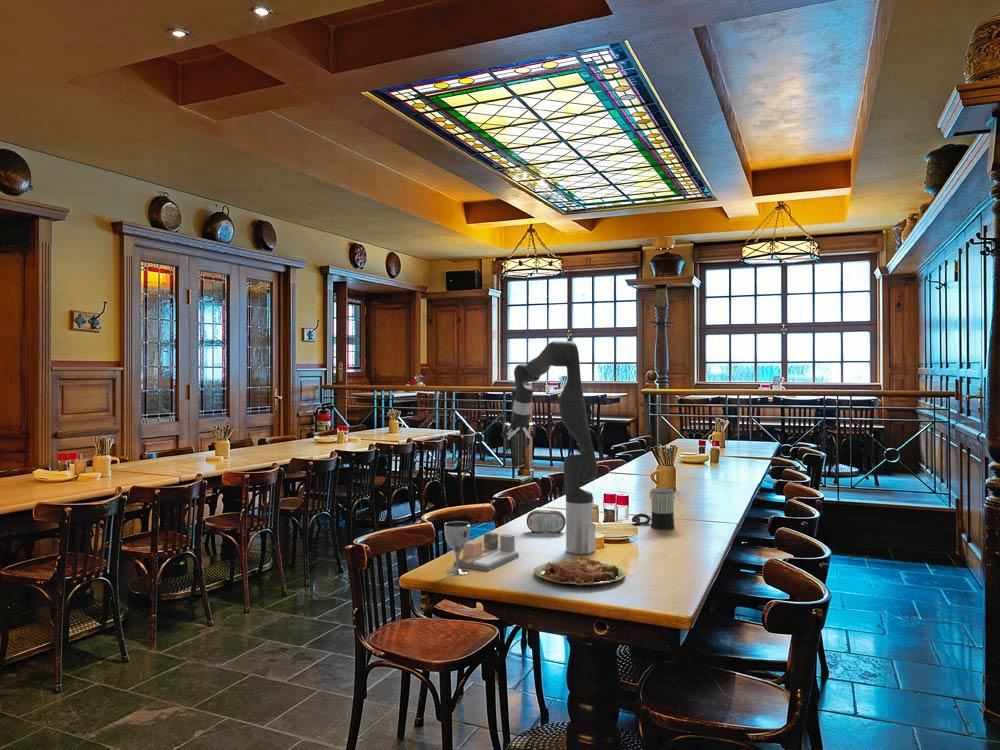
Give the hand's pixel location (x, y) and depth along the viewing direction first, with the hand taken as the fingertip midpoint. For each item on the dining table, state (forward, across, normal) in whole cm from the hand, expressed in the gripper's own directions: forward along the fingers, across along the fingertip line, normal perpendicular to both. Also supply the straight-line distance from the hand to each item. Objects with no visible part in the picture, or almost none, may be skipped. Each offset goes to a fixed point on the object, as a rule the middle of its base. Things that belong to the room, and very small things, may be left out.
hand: (516, 446), depth 291 cm
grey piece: (+10, -34, -61) cm, 70 cm away
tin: (+20, +2, -35) cm, 41 cm away
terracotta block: (+8, -37, -62) cm, 73 cm away
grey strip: (+8, -30, -65) cm, 72 cm away
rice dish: (+2, -11, -87) cm, 88 cm away
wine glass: (+7, -44, -72) cm, 85 cm away
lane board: (+10, -32, -64) cm, 72 cm away
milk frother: (+18, +46, -40) cm, 64 cm away
